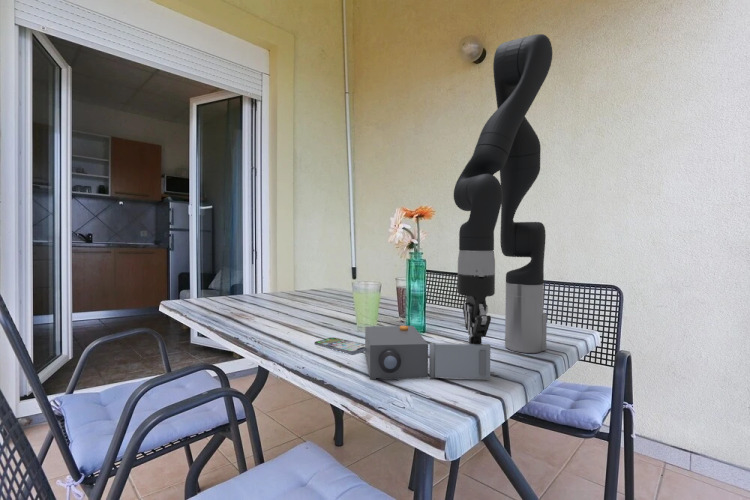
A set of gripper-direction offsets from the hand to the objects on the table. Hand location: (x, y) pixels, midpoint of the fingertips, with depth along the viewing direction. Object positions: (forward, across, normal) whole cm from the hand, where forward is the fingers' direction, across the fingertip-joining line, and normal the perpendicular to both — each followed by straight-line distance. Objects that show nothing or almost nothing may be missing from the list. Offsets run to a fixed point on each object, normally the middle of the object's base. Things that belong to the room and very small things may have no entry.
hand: (475, 354), depth 76 cm
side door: (+4, +3, -4) cm, 6 cm away
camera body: (+4, -6, -17) cm, 18 cm away
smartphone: (+5, -21, -30) cm, 37 cm away
